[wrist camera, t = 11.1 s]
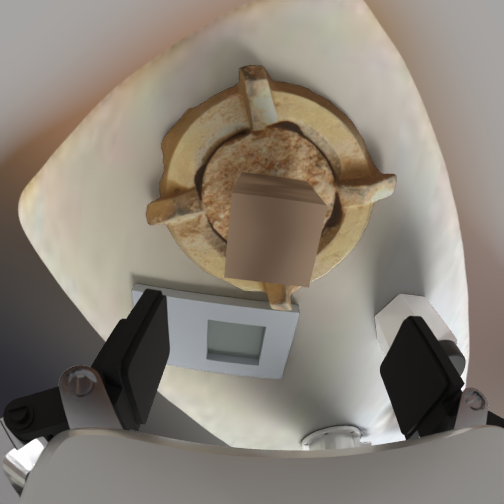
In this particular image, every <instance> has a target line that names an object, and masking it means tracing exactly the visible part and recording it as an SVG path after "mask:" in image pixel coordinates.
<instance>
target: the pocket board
mask: <svg viewBox="0 0 504 504" xmlns="http://www.w3.org/2000/svg"><path fill="white" fill-rule="evenodd" d="M147 288H148V289H154V290H160V291H162V295H166V297H167V311H168V327H169V341H170V354H169V358H168V361H167V363H166V365H171V366H177V367H182V368H188V369H194V370H200V371H207V372H214V373H221V374H229V375H238V376H247V377H257V378H269V379H281V378H282V375H283V371H284V368H285V364H286V361H287V358H288V354H289V351H290V347H291V343H292V340H293V336H294V333H295V329H296V325H297V321H298V318H299V314H300V312H299V306H298V305H293V304H291V305H292V310H289V311H282V310H276V309H272V308H271V306H270V304H269V302H265V301H256V300H247V299H239V298H231V297H223V296H215V295H208V294H201V293H194V292H187V291H180V290H173V289H167V288H160V287H154V286H148V285H142V284H136V285H135V286H134V287H133V289H132V290H131V291H132V299H133V307H134V306H135V305H136V303H137V302H138V300H139V298H140V297H141V295H142V294H143V292H144V291H145V289H147Z"/></svg>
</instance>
